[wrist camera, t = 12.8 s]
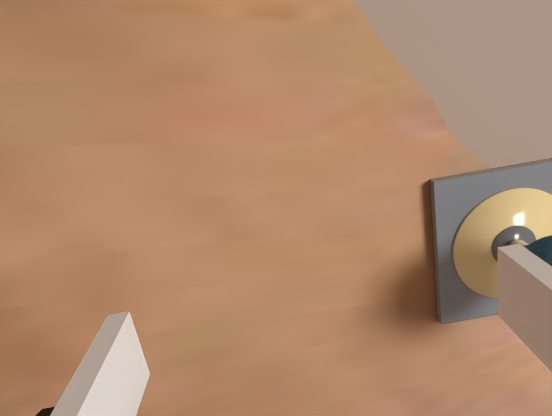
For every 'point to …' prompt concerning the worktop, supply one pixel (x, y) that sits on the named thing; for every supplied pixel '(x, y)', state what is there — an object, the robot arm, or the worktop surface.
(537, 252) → the light bulb
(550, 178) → the socket board
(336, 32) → the worktop surface
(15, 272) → the worktop surface
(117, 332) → the robot arm
